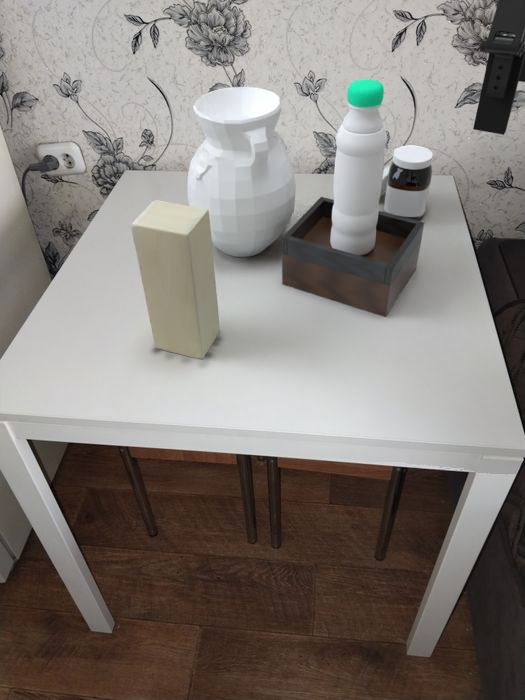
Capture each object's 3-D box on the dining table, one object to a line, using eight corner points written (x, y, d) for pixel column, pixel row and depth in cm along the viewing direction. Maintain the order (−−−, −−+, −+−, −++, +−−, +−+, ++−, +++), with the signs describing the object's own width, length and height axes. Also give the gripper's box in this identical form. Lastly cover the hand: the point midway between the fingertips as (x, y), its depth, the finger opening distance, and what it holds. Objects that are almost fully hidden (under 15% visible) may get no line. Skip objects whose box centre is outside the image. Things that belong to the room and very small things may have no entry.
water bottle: (323, 238, 96) (330, 78, 78) (363, 230, 97) (379, 71, 80) (340, 262, 91) (352, 97, 73) (382, 253, 92) (403, 89, 75)
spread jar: (421, 228, 108) (432, 169, 100) (360, 220, 110) (365, 161, 102) (429, 196, 116) (439, 139, 108) (371, 189, 119) (377, 132, 111)
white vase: (314, 253, 103) (319, 110, 86) (217, 283, 98) (201, 137, 80) (268, 205, 115) (264, 71, 98) (179, 229, 110) (158, 92, 93)
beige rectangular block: (223, 328, 90) (211, 205, 75) (204, 360, 85) (186, 235, 70) (176, 317, 92) (155, 196, 77) (154, 348, 87) (127, 225, 72)
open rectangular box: (416, 268, 99) (424, 222, 93) (385, 317, 90) (392, 269, 84) (319, 241, 106) (321, 196, 99) (282, 284, 97) (281, 237, 91)
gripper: (558, -201, 51) (499, 59, 66) (482, -187, 36) (427, 147, 51) (654, -204, 48) (571, 68, 63) (617, -191, 33) (518, 165, 48)
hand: (507, 104), depth 57 cm, fingers open, 13 cm apart
